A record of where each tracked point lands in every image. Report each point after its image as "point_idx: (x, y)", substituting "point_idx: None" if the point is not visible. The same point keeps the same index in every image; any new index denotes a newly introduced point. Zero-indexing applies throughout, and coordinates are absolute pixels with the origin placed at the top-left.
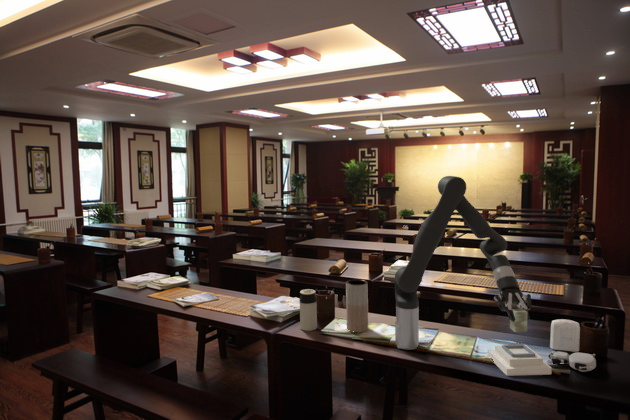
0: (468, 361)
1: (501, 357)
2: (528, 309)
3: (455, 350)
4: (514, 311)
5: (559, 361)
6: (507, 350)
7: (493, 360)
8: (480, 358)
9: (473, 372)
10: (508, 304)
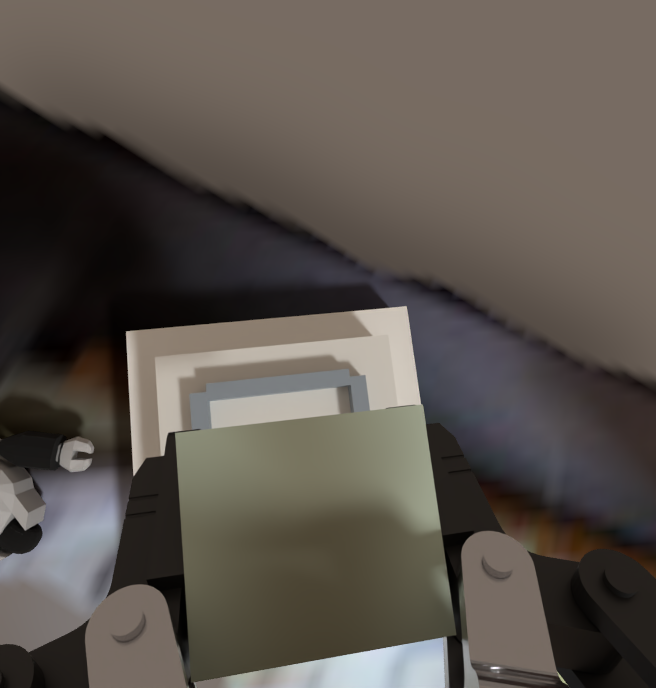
0: (563, 486)
1: None
2: (57, 659)
3: None
4: (421, 458)
5: (15, 435)
6: None
7: None
8: None
9: (558, 347)
10: (545, 671)
